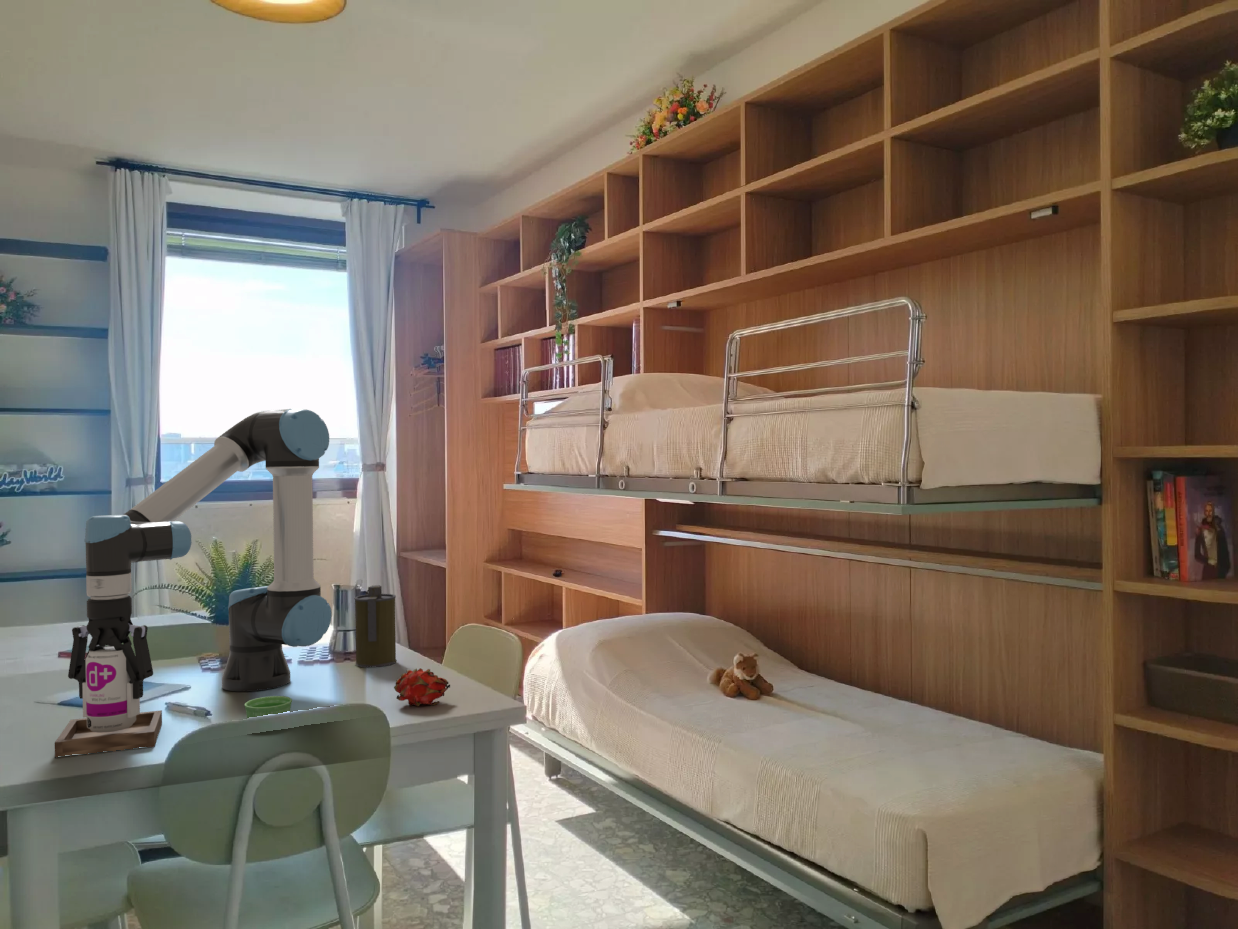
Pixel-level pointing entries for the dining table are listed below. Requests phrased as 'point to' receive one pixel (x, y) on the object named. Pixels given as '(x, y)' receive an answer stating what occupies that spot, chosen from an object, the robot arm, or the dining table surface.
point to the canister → (375, 628)
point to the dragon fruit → (420, 687)
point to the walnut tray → (109, 736)
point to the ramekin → (267, 706)
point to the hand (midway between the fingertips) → (111, 715)
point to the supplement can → (107, 690)
